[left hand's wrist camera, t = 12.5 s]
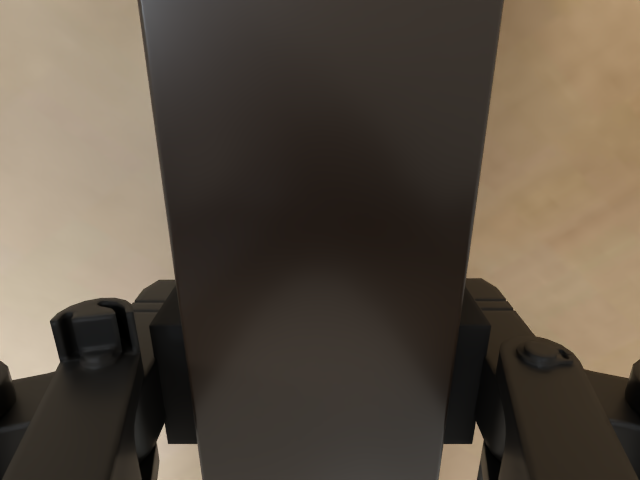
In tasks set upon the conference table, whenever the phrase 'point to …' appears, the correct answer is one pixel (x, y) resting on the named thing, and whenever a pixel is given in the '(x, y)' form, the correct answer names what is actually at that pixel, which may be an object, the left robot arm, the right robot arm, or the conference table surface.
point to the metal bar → (320, 222)
